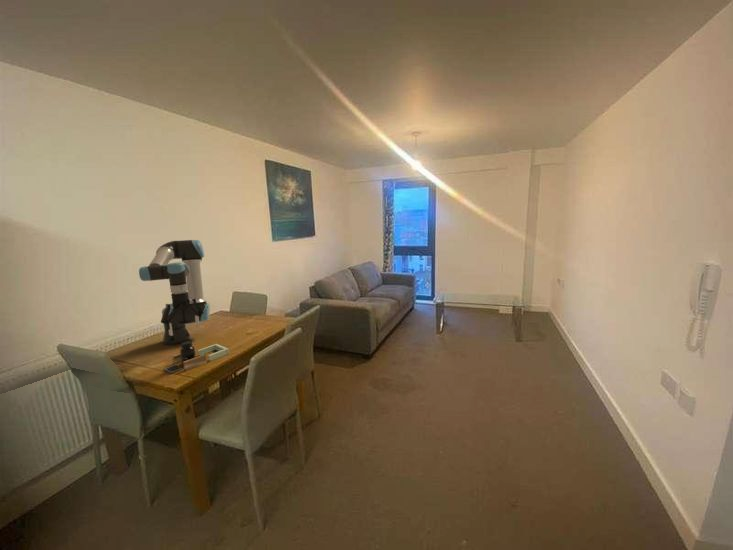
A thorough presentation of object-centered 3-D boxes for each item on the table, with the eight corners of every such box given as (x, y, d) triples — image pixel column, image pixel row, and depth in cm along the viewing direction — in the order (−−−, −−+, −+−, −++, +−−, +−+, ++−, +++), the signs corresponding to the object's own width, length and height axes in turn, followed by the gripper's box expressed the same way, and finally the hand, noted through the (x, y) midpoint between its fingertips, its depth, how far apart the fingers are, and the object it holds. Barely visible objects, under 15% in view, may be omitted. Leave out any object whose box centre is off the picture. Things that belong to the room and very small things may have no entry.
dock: (198, 355, 176) (197, 350, 176) (217, 348, 185) (216, 343, 184) (210, 360, 168) (209, 355, 168) (229, 353, 177) (228, 348, 176)
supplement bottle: (182, 367, 161) (179, 346, 159) (181, 363, 167) (178, 342, 164) (197, 363, 165) (194, 343, 163) (195, 359, 171) (192, 339, 168)
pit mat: (163, 369, 160) (163, 368, 159) (176, 365, 164) (175, 364, 164) (170, 374, 155) (170, 372, 155) (182, 369, 160) (182, 368, 160)
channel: (173, 363, 166) (172, 356, 165) (194, 356, 175) (193, 348, 174) (185, 370, 158) (184, 362, 157) (206, 362, 167) (205, 354, 166)
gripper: (155, 298, 147) (161, 340, 150) (207, 288, 166) (211, 325, 170) (149, 296, 151) (155, 337, 155) (200, 286, 171) (205, 323, 175)
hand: (185, 331), depth 163 cm, fingers open, 13 cm apart
